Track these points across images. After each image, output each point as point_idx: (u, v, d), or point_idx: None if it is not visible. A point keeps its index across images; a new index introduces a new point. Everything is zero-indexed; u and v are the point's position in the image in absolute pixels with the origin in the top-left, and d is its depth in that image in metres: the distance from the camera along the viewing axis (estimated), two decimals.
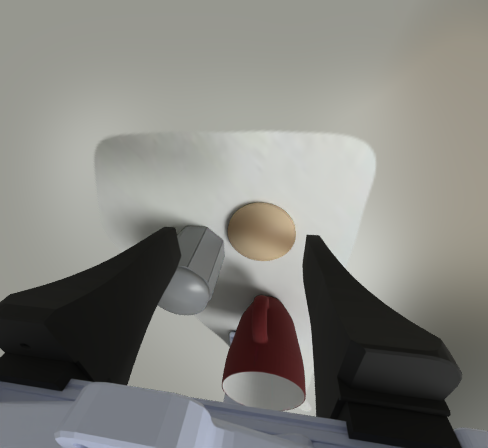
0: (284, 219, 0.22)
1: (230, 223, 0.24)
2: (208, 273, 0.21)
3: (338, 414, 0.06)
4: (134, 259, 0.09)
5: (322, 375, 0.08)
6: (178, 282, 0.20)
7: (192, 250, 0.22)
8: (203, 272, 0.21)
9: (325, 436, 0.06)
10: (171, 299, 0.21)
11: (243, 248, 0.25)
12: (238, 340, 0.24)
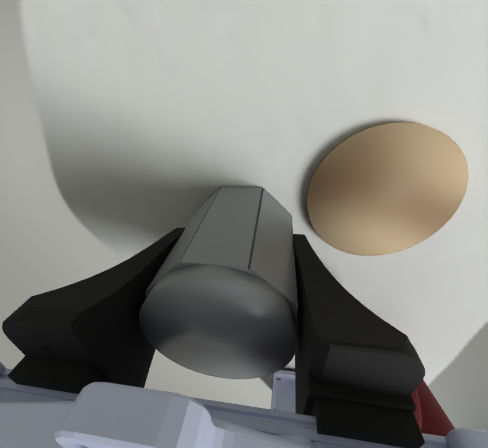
0: (450, 161, 0.10)
1: (319, 175, 0.11)
2: (291, 283, 0.08)
3: (311, 410, 0.07)
4: (151, 260, 0.09)
5: (300, 372, 0.08)
6: (226, 311, 0.07)
7: (248, 228, 0.09)
8: (283, 281, 0.08)
9: (294, 431, 0.06)
10: (200, 347, 0.09)
11: (334, 230, 0.13)
12: None
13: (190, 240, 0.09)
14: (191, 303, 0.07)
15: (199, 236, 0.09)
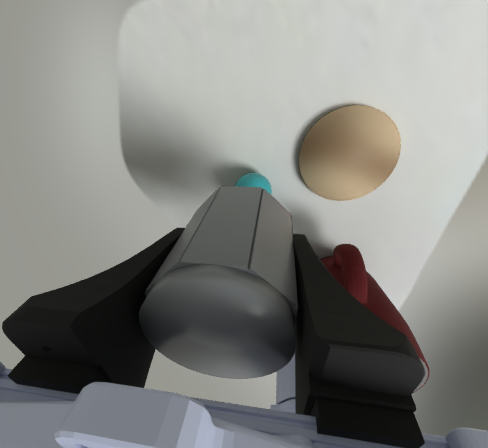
0: (388, 129, 0.16)
1: (306, 141, 0.17)
2: (291, 283, 0.08)
3: (311, 410, 0.07)
4: (151, 260, 0.09)
5: (300, 372, 0.08)
6: (226, 310, 0.07)
7: (248, 228, 0.09)
8: (283, 281, 0.08)
9: (294, 431, 0.06)
10: (200, 347, 0.09)
11: (317, 181, 0.18)
12: None
13: (190, 240, 0.09)
14: (191, 303, 0.07)
15: (199, 236, 0.09)
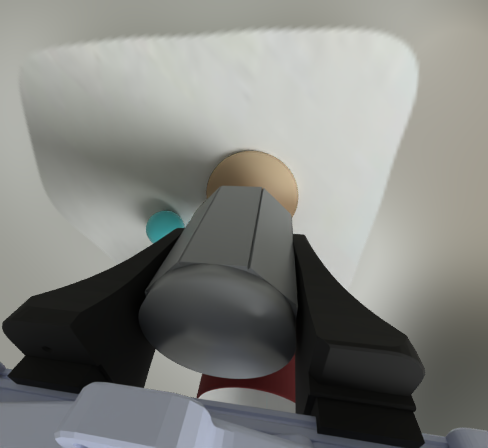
0: (282, 174, 0.16)
1: (209, 182, 0.17)
2: (291, 283, 0.08)
3: (311, 411, 0.07)
4: (151, 260, 0.09)
5: (300, 371, 0.08)
6: (225, 310, 0.07)
7: (248, 227, 0.09)
8: (283, 281, 0.08)
9: (294, 431, 0.06)
10: (200, 347, 0.09)
11: None
12: None
13: (190, 239, 0.09)
14: (191, 302, 0.07)
15: (199, 235, 0.09)
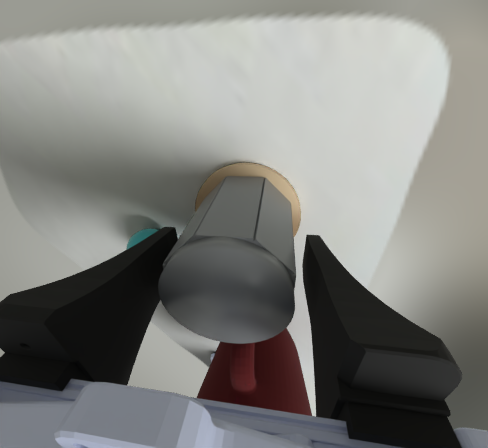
0: (283, 190, 0.14)
1: (198, 198, 0.15)
2: (291, 256, 0.10)
3: (338, 414, 0.06)
4: (134, 259, 0.09)
5: (322, 375, 0.08)
6: (234, 275, 0.08)
7: (252, 209, 0.10)
8: (283, 253, 0.09)
9: (325, 436, 0.06)
10: (210, 312, 0.10)
11: None
12: (210, 381, 0.15)
13: (202, 219, 0.10)
14: (205, 269, 0.09)
15: (210, 215, 0.10)
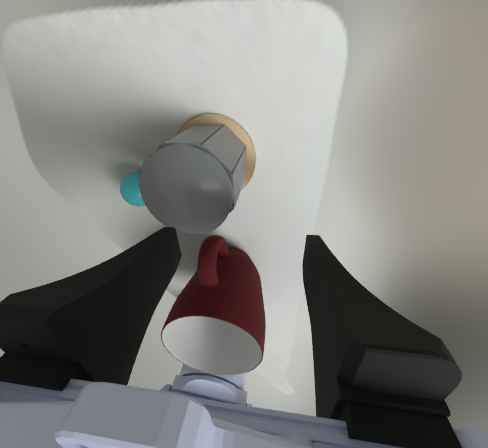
0: (239, 135, 0.18)
1: None
2: (231, 164, 0.14)
3: (338, 414, 0.06)
4: (134, 259, 0.09)
5: (322, 375, 0.08)
6: (188, 168, 0.13)
7: (207, 135, 0.15)
8: (224, 160, 0.14)
9: (325, 436, 0.06)
10: (176, 204, 0.14)
11: None
12: (185, 288, 0.19)
13: (170, 139, 0.14)
14: (168, 164, 0.13)
15: (175, 137, 0.14)
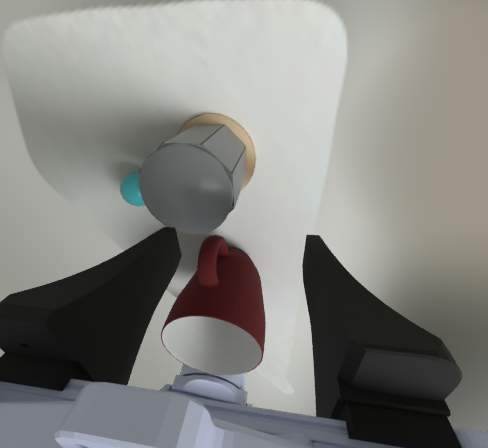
0: (239, 135, 0.18)
1: None
2: (231, 164, 0.14)
3: (338, 414, 0.06)
4: (134, 259, 0.09)
5: (322, 375, 0.08)
6: (188, 168, 0.13)
7: (207, 135, 0.15)
8: (224, 160, 0.14)
9: (325, 436, 0.06)
10: (176, 204, 0.14)
11: None
12: (185, 288, 0.19)
13: (170, 139, 0.14)
14: (168, 164, 0.13)
15: (175, 137, 0.14)
